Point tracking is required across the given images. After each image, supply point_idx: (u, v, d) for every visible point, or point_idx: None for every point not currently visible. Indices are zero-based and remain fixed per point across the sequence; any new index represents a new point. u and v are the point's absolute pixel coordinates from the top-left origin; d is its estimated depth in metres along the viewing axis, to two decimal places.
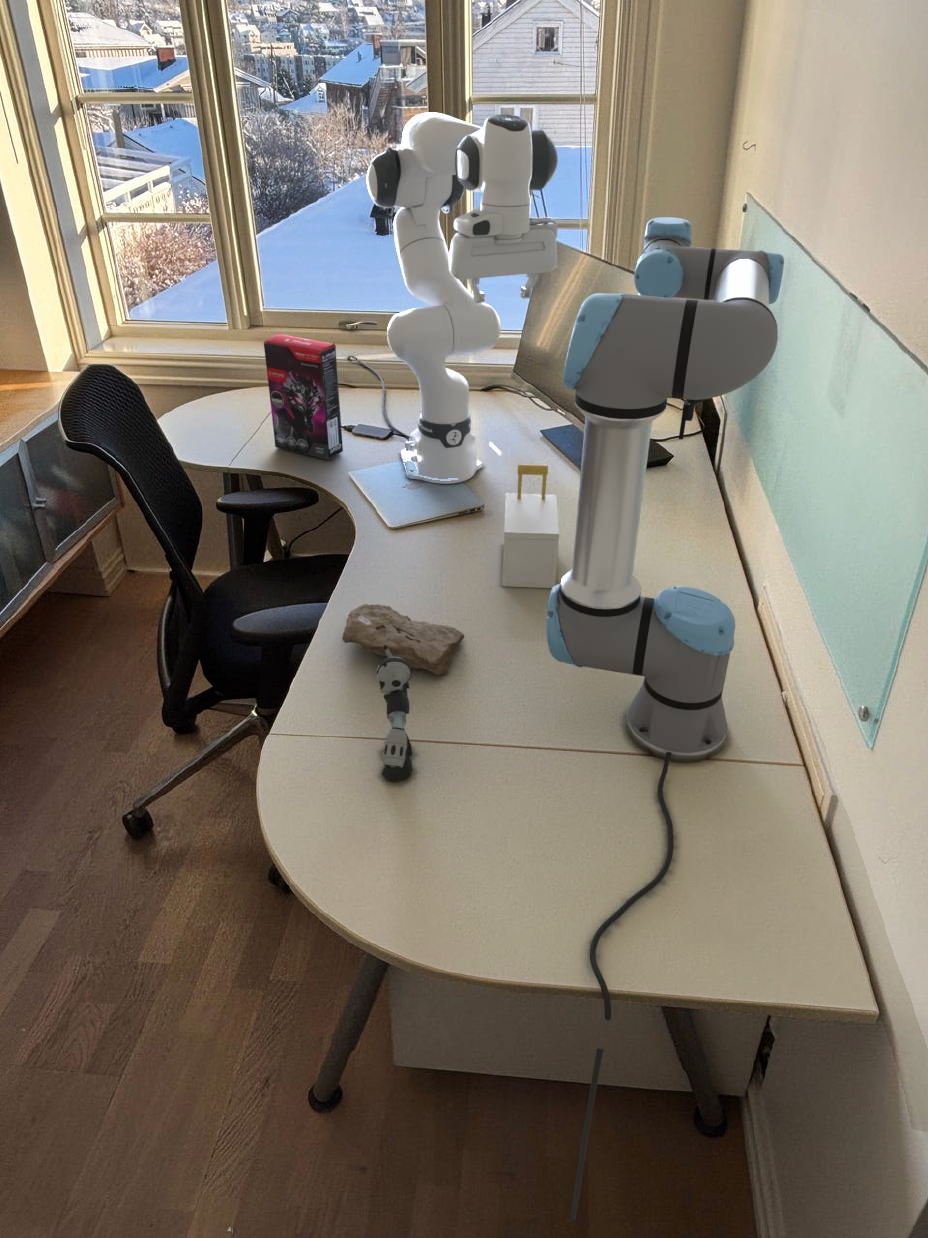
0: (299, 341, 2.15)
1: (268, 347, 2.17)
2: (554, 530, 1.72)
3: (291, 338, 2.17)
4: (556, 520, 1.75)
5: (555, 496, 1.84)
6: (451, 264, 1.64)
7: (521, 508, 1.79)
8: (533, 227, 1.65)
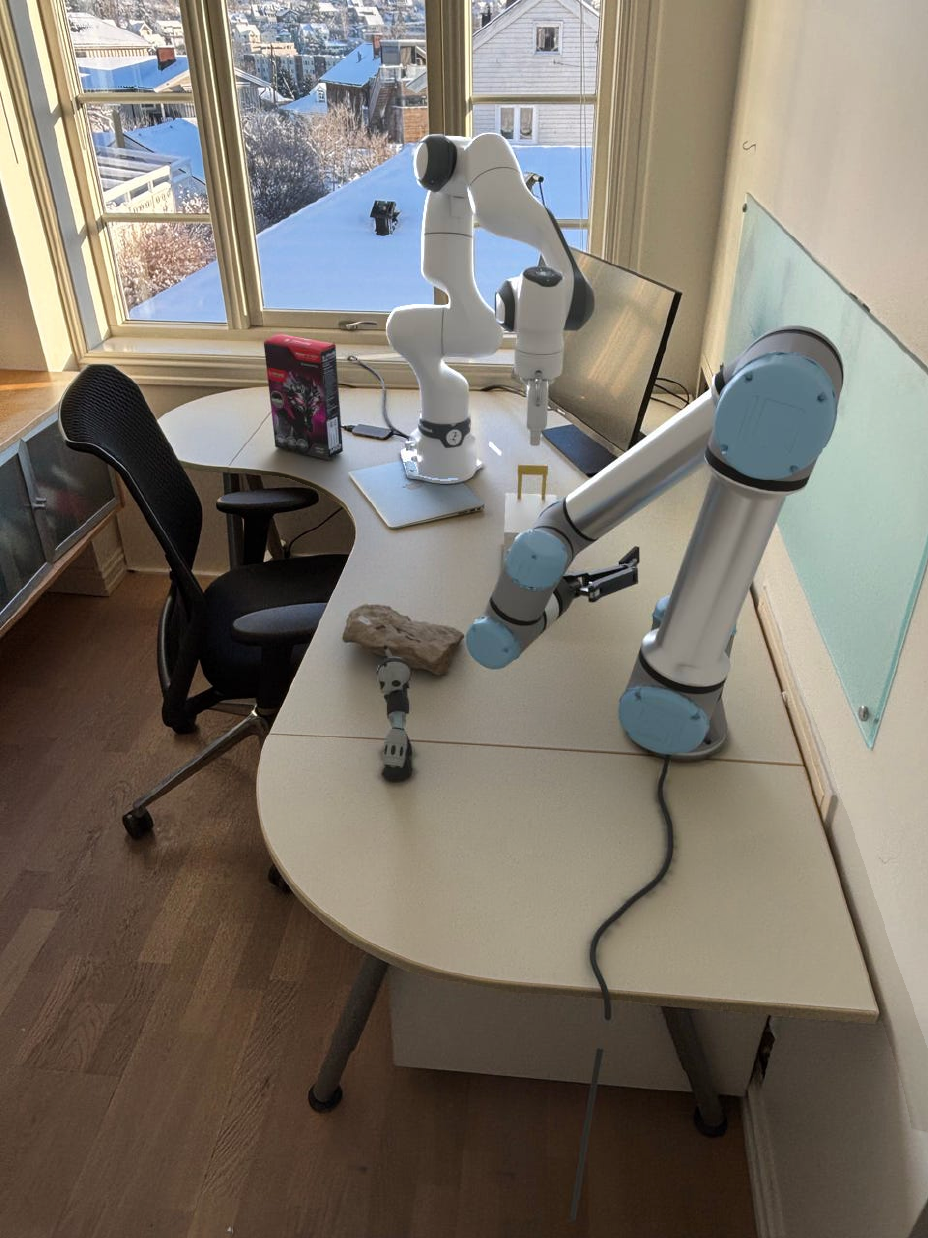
0: (299, 341, 2.15)
1: (268, 347, 2.17)
2: None
3: (291, 338, 2.17)
4: None
5: (555, 496, 1.84)
6: None
7: (521, 508, 1.79)
8: (535, 381, 1.64)
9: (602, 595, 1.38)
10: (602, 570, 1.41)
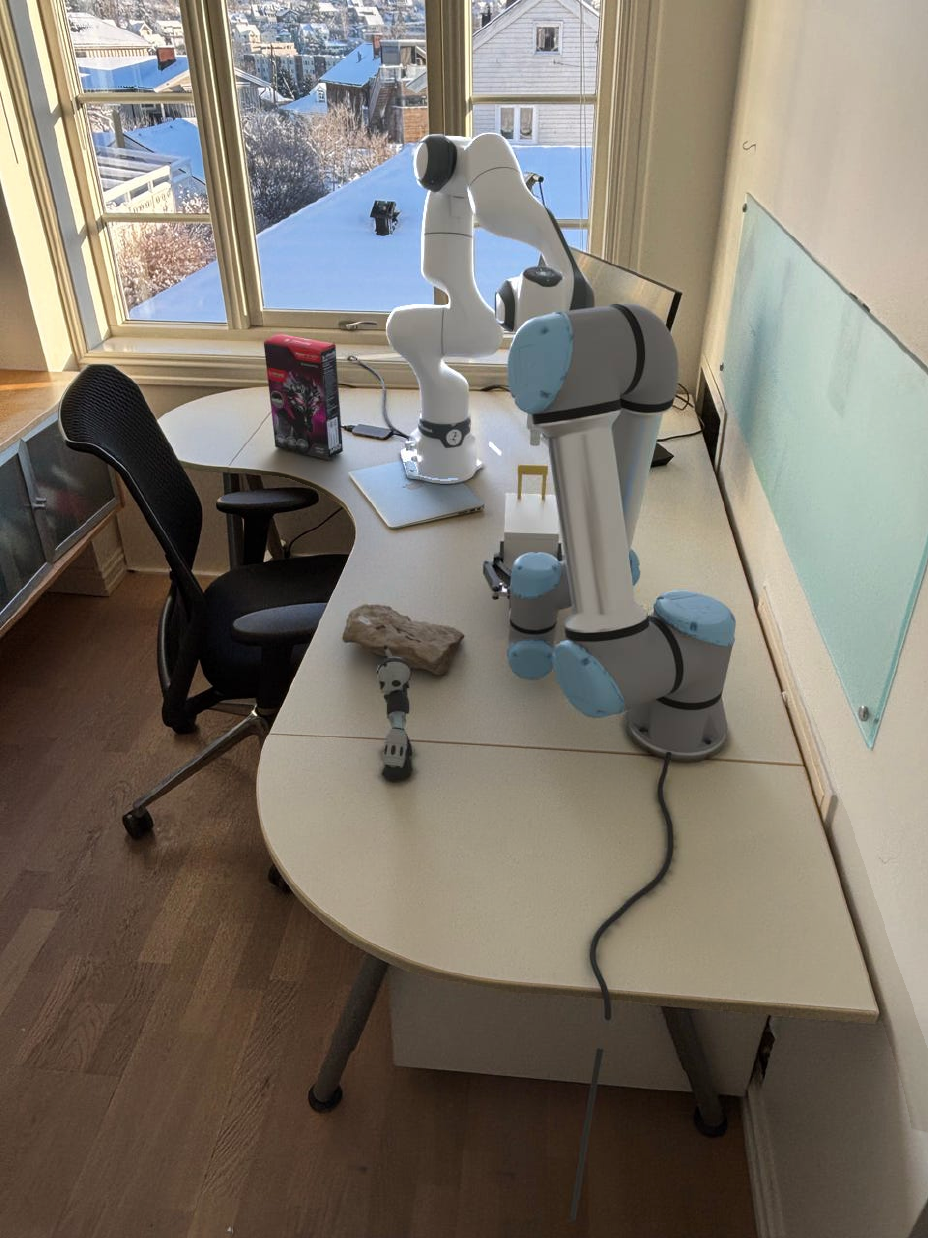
0: (299, 341, 2.15)
1: (268, 347, 2.17)
2: (554, 530, 1.72)
3: (291, 338, 2.17)
4: (556, 520, 1.75)
5: (555, 496, 1.84)
6: None
7: (521, 508, 1.79)
8: None
9: None
10: None
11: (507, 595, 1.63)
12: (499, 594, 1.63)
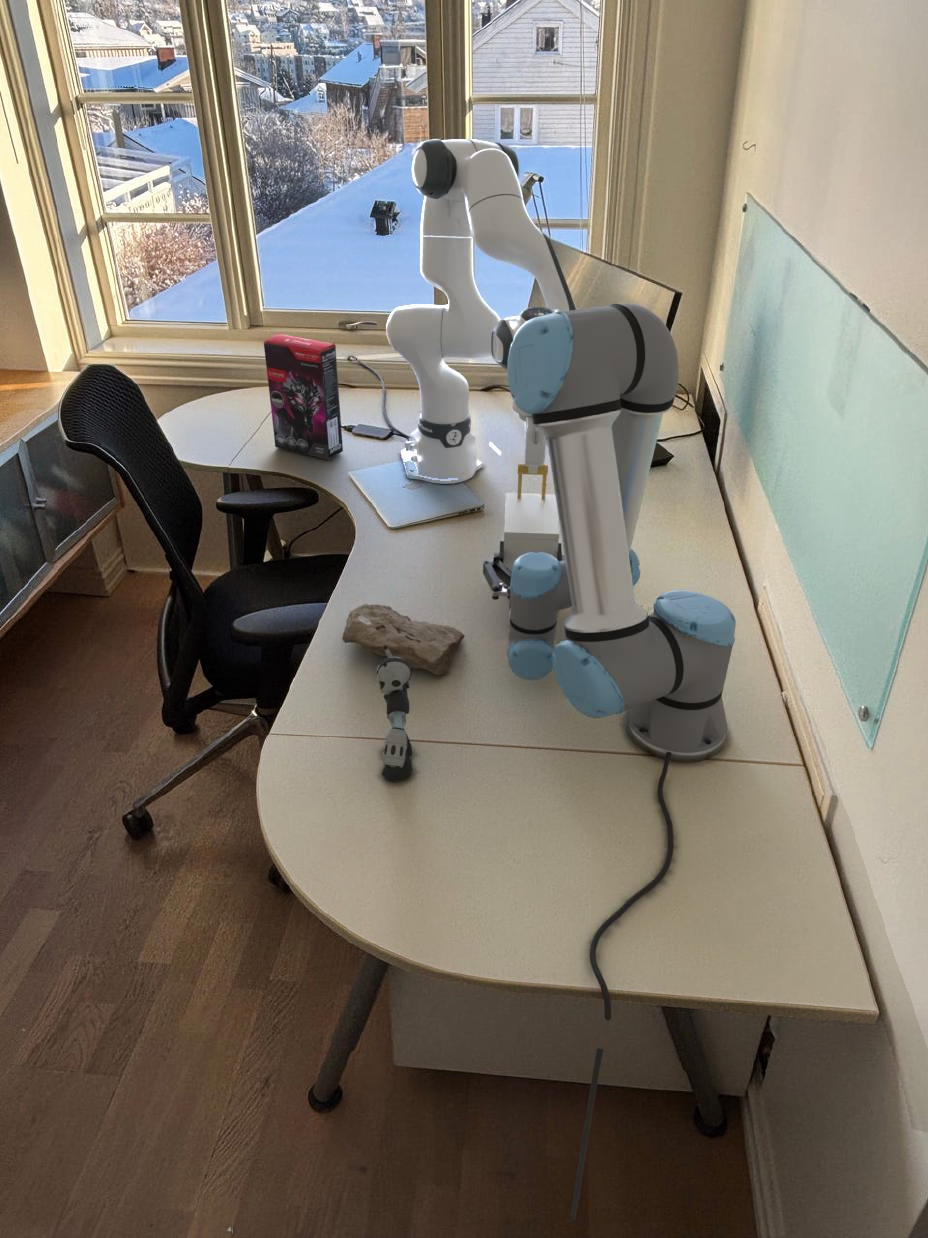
0: (299, 341, 2.15)
1: (268, 347, 2.17)
2: (554, 530, 1.72)
3: (291, 338, 2.17)
4: (556, 520, 1.75)
5: (555, 496, 1.84)
6: None
7: (521, 508, 1.79)
8: None
9: None
10: None
11: (507, 595, 1.63)
12: (499, 594, 1.63)
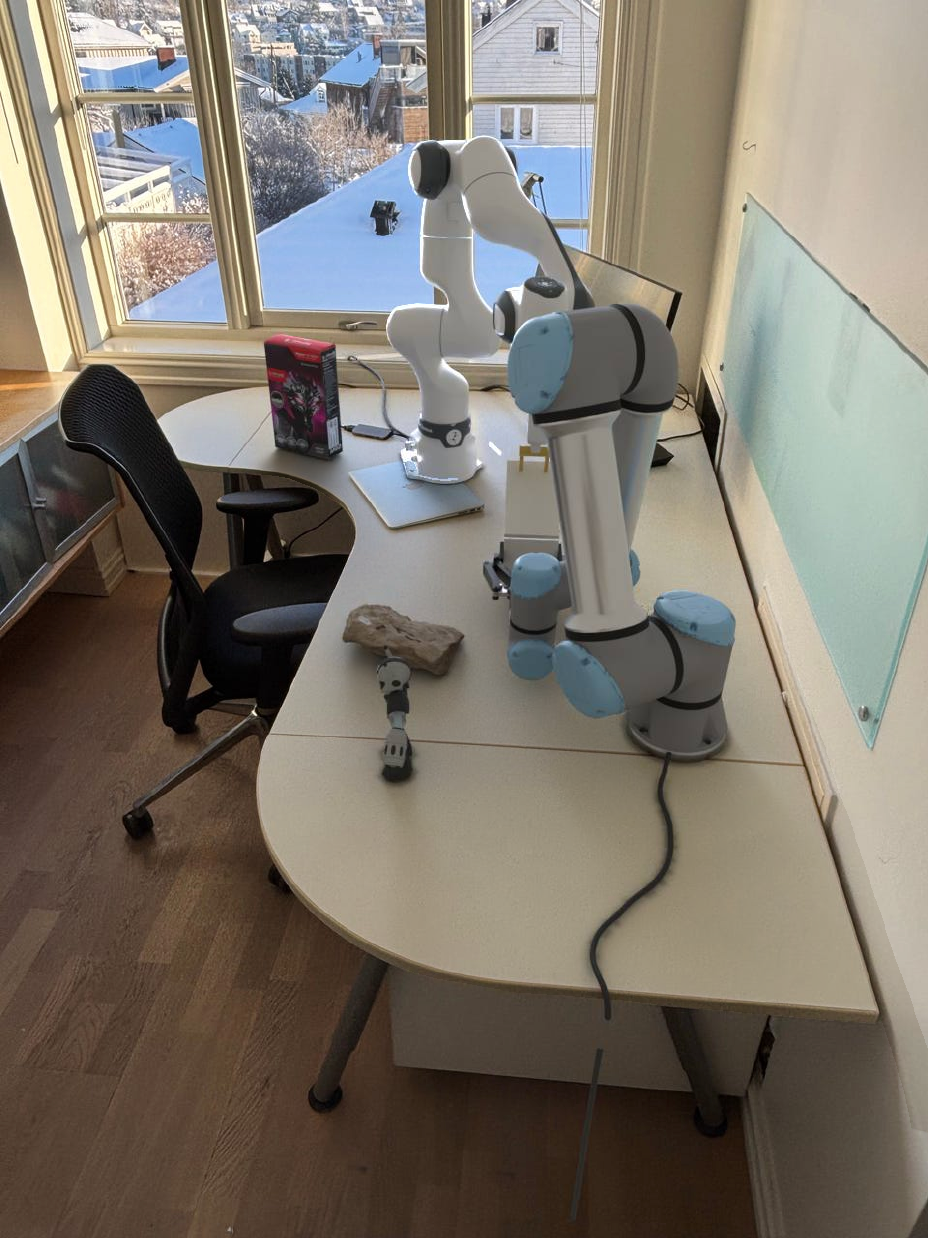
0: (299, 341, 2.15)
1: (268, 347, 2.17)
2: (554, 529, 1.71)
3: (291, 338, 2.17)
4: (557, 511, 1.73)
5: None
6: None
7: (523, 490, 1.75)
8: None
9: None
10: None
11: (507, 595, 1.63)
12: (499, 594, 1.63)
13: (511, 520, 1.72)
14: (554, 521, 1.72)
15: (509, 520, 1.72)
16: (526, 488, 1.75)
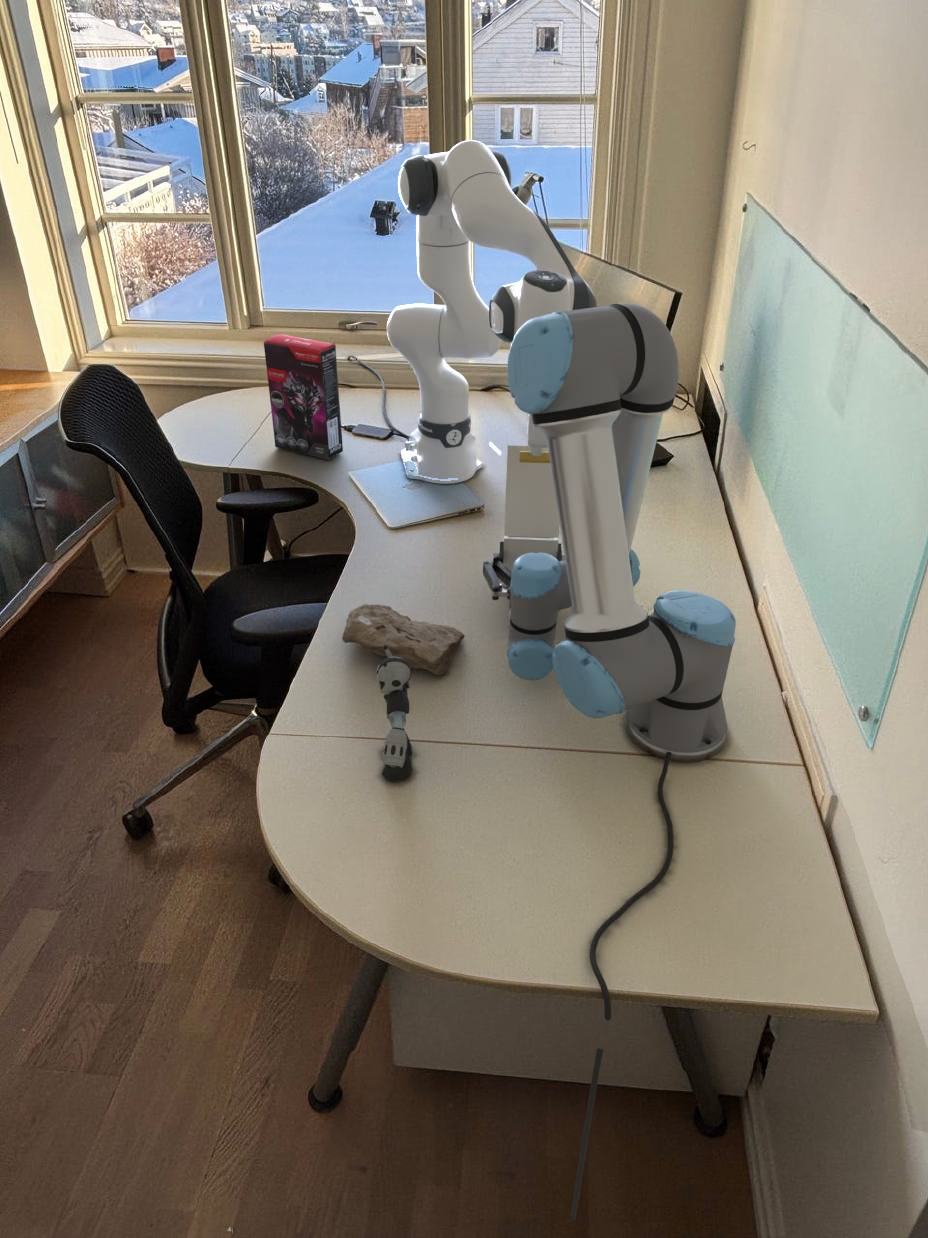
0: (299, 341, 2.15)
1: (268, 347, 2.17)
2: (554, 530, 1.70)
3: (291, 338, 2.17)
4: None
5: None
6: None
7: (523, 483, 1.69)
8: None
9: None
10: None
11: (507, 595, 1.63)
12: (499, 594, 1.63)
13: (511, 520, 1.71)
14: (554, 521, 1.70)
15: (509, 520, 1.71)
16: (527, 481, 1.69)
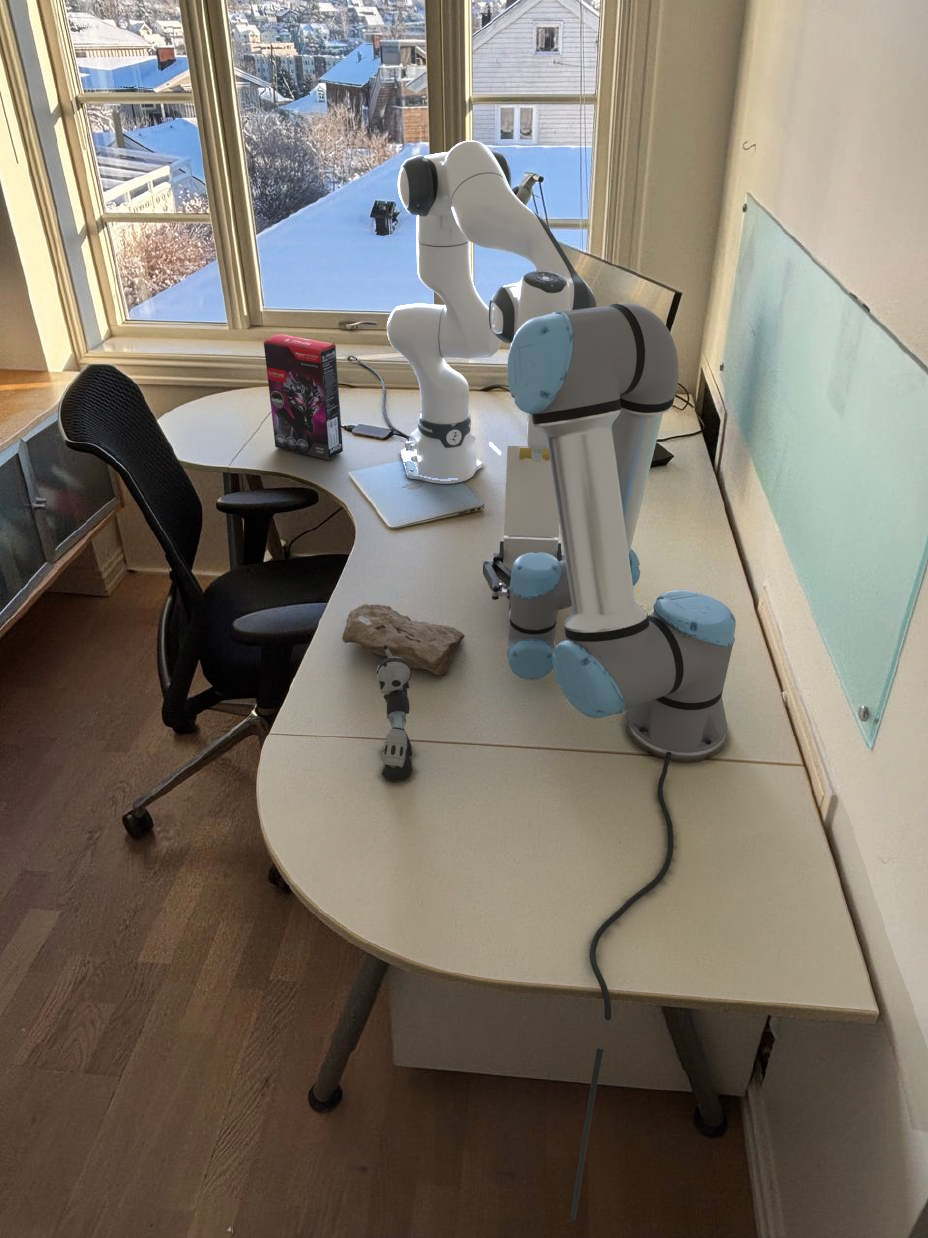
0: (299, 341, 2.15)
1: (268, 347, 2.17)
2: (554, 529, 1.71)
3: (291, 338, 2.17)
4: None
5: None
6: None
7: (523, 483, 1.71)
8: None
9: None
10: None
11: (507, 595, 1.63)
12: (499, 594, 1.63)
13: (511, 519, 1.71)
14: (554, 520, 1.71)
15: (509, 519, 1.71)
16: (527, 480, 1.71)
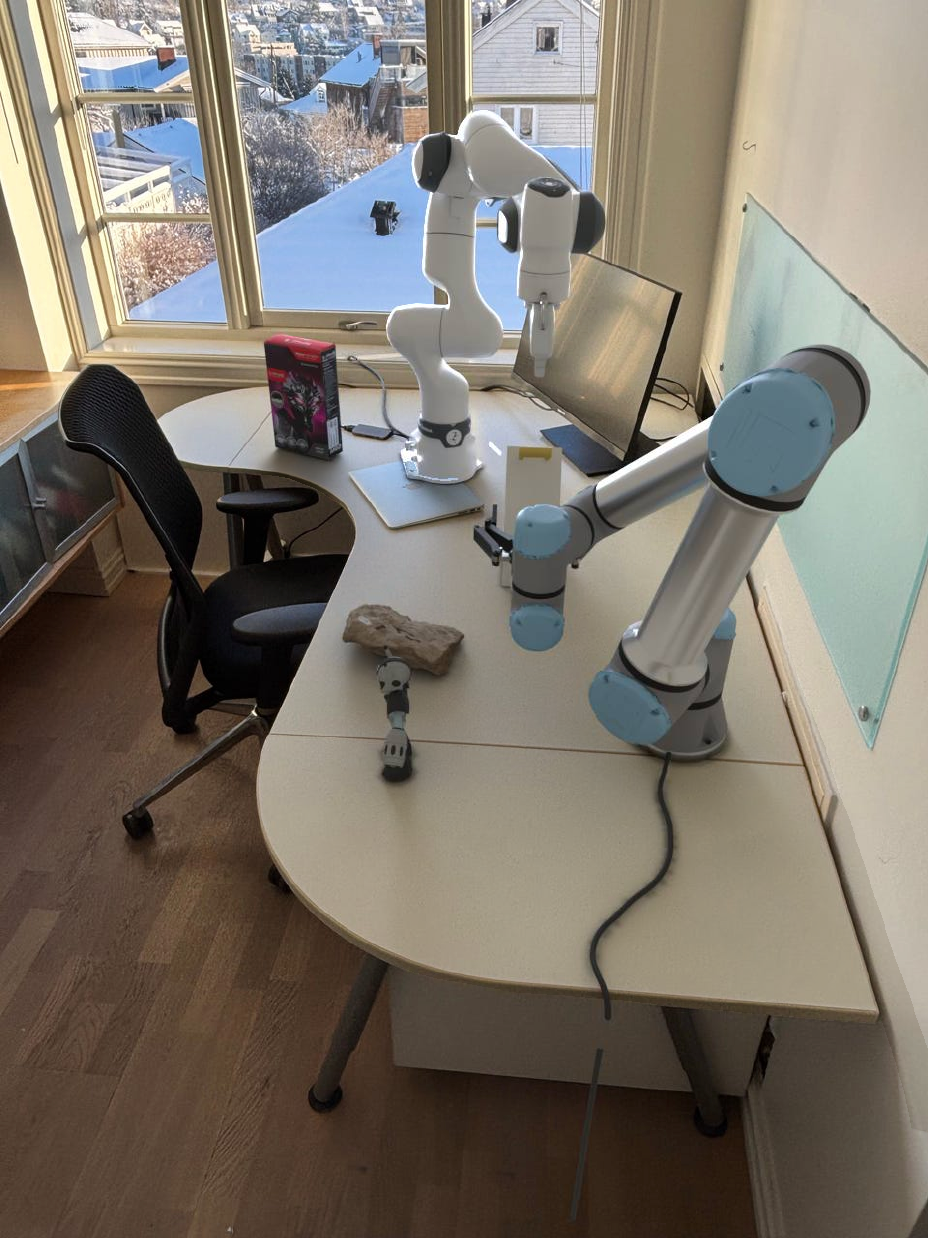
0: (299, 341, 2.15)
1: (268, 347, 2.17)
2: None
3: (291, 338, 2.17)
4: None
5: (560, 452, 1.71)
6: None
7: (523, 483, 1.71)
8: (540, 303, 1.51)
9: (579, 560, 1.46)
10: None
11: None
12: (500, 559, 1.44)
13: (511, 519, 1.71)
14: None
15: (509, 519, 1.71)
16: (526, 480, 1.71)
